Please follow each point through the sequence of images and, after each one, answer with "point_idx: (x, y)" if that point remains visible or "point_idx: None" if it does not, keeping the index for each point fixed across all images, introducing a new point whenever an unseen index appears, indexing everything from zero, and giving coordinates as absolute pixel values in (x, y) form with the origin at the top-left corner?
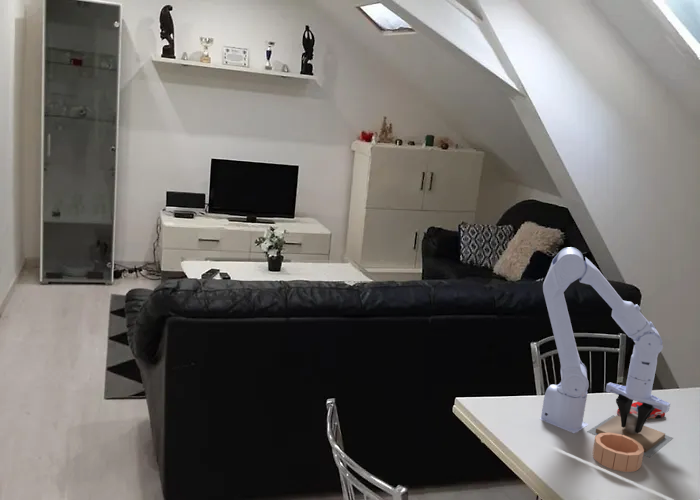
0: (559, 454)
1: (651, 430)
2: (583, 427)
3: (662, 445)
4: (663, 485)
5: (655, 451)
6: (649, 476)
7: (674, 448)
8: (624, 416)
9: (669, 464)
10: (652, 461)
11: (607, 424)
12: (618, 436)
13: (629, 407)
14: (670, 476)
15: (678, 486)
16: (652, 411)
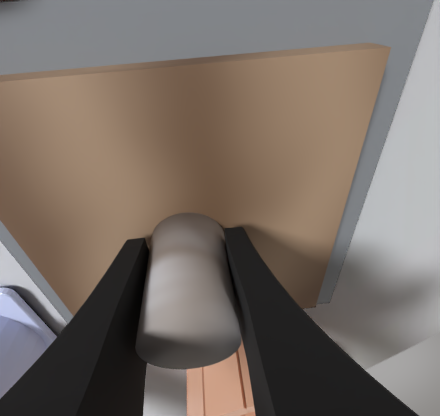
0: (149, 404)
1: (276, 105)
2: (36, 325)
3: (365, 182)
4: (380, 345)
5: (341, 258)
6: (343, 343)
7: (426, 113)
8: (146, 364)
9: (395, 266)
10: (337, 292)
11: (67, 280)
12: (238, 412)
13: (109, 405)
14: (397, 312)
15: (417, 327)
16: (375, 380)
